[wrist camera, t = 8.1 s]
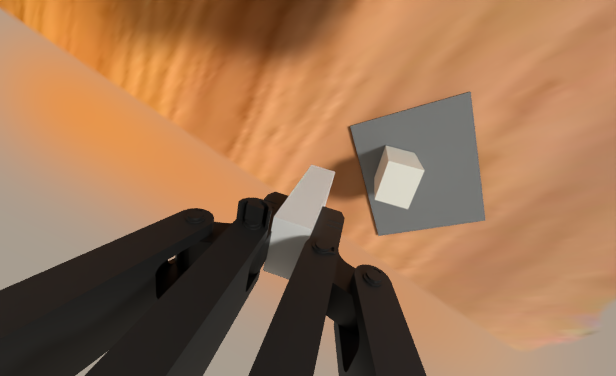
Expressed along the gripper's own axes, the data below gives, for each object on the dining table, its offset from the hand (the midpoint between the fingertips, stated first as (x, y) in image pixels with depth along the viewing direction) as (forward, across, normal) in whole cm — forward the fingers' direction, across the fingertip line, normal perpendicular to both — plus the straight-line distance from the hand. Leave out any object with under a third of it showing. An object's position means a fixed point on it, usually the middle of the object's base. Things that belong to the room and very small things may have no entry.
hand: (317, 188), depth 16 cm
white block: (+23, +8, -4) cm, 24 cm away
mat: (+23, +11, -4) cm, 26 cm away
